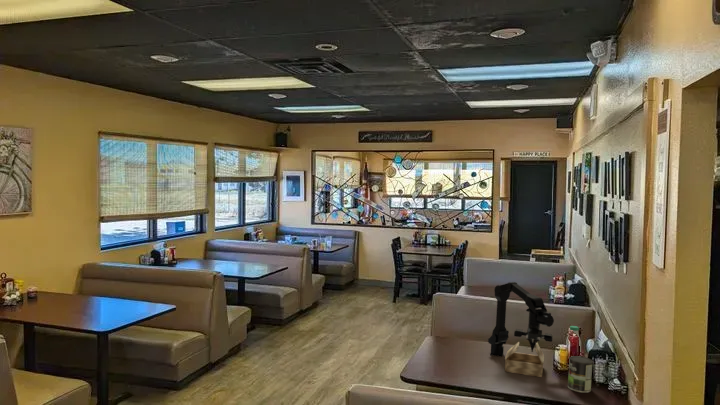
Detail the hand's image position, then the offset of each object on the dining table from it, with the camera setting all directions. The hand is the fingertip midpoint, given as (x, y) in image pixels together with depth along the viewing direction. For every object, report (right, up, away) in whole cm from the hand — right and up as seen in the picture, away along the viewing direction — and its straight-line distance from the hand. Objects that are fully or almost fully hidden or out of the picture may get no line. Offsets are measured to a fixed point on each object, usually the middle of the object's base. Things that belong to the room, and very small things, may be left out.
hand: (532, 351), depth 275 cm
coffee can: (+15, -12, -22) cm, 29 cm away
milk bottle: (+27, -11, +16) cm, 33 cm away
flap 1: (-9, 0, +3) cm, 10 cm away
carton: (-4, -10, +2) cm, 10 cm away
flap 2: (+3, 0, -1) cm, 3 cm away
